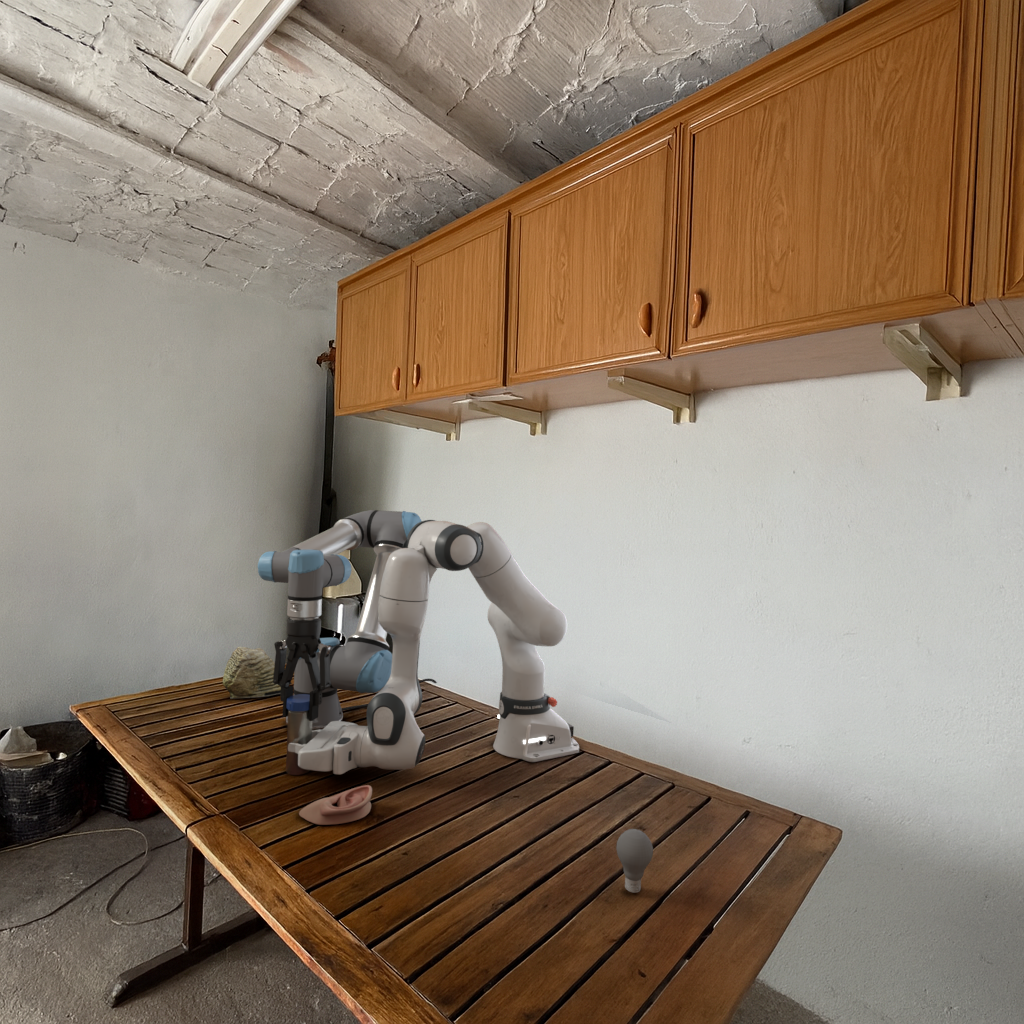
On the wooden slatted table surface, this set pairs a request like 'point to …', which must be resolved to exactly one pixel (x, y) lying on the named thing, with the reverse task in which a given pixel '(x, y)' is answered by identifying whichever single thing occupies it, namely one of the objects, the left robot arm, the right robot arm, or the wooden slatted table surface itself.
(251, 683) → the fossil
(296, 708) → the lid
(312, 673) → the left robot arm
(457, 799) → the wooden slatted table surface
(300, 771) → the jar
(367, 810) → the anatomical model
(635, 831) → the light bulb
